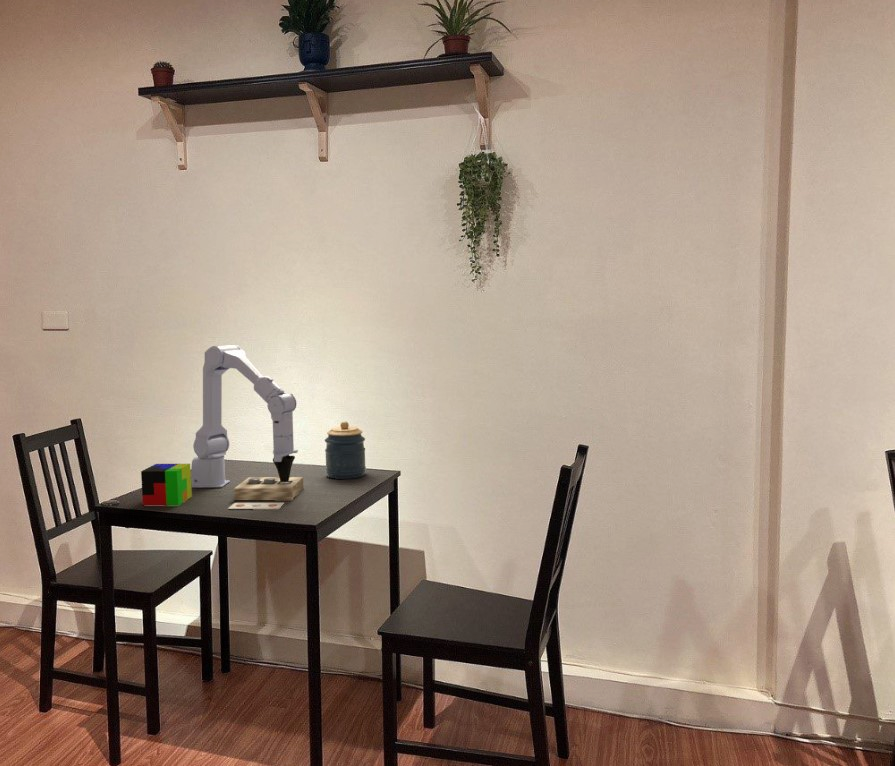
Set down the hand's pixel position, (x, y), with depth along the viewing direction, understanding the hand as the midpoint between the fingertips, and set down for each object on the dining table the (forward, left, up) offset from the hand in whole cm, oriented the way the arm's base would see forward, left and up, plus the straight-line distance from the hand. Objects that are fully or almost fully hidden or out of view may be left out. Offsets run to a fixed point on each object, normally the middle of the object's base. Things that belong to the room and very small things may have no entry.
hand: (284, 481), depth 221 cm
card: (-4, -14, -4) cm, 15 cm away
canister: (+14, +25, -4) cm, 29 cm away
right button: (0, 0, -3) cm, 3 cm away
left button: (-9, 0, -1) cm, 9 cm away
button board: (-4, 0, -4) cm, 6 cm away
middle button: (-4, 0, -1) cm, 5 cm away
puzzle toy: (-31, -8, -4) cm, 33 cm away
